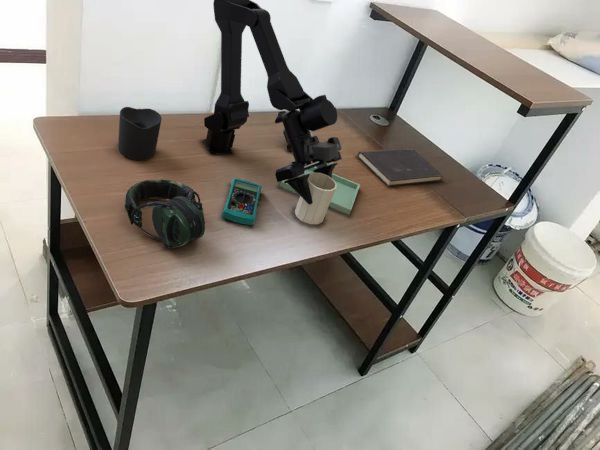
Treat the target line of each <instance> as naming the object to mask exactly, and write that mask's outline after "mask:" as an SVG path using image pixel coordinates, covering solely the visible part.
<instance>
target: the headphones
mask: <svg viewBox="0 0 600 450" xmlns="http://www.w3.org/2000/svg"><path fill="white" fill-rule="evenodd" d="M196 198H197V200H196ZM147 200H156V201H149V202H147V203H144V204H141V205H139V204H140V203H141V202H143V201H147ZM157 200H168V201H157ZM124 201H125V202H124V209H125V211H126V214H127V217H128V220H129V221H130V225H135V226H136V227H137V228H139V229H140V230H141V231H142V232H143V233H144V234H146V235H147V236H149V237H150V238H153V239H155V240H158V241H159V242H162V243H163V244H164V245H165V246H166V247H167V248H168V249H175V248H180V247H183V246H185V245H186V244H188V243H189V242H191V241H193V240H198V239H201V238H203V236H204V234H205V232H206V231H205V230H206V219H205V215H204V208H203V203H202V202H201V198H200V195H199V193H197V192H196V191H195V190H194V189H193V188H191V187H190V186H189V185H186V184H184V183H181V182H179V181H175V180H172V179H164V178H159V179H158V178H157V179H156V178H155V179H146V180H142V181H140V182H139V181H138V182H136V183H134V185H132V186H130V187H129V189H127V191H126V193H125V198H124ZM138 205H139V206H138ZM149 207H153V208H152V211H151V221H152V224H153V227H154V228H153V229H154V230H155V232H156V234H157V236H158V237H159V238H158V237H156V236H154V235H152V234H151V233H149V232H147V231H146V230H145V229H144V228H143V222H142V221H143V217H142V216H143V212H142V210H143V209H145V208H149Z"/></svg>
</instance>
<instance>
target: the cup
mask: <svg viewBox="0 0 600 450" xmlns="http://www.w3.org/2000/svg"><path fill="white" fill-rule="evenodd" d="M308 185H309V189H310V193H311V196H312V202H313V203H312V204H310V205H309V204H308V203H307V202H306V201H305V200H304V199H303V198H302V197H301V196H300V195H299V198H298V200H297V204H296V206H295V209H294V214H295V216H296V218H297V219H299V220H300V221H301V222H303V223H305V224H309V225H319V224H321V223H323V221H324V219H325V216H326V215H327V212H328V209H329V208H330V207H329V204H330V202H331V200H332V197H333V195H334V192H335V190H336V187H337V184H336V182H335V181H334V180H333V179H332V178H331V177H329V176H328V175H325V174H322V173H316V172H313V173H310V175H309V178H308Z"/></svg>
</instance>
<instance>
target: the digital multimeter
mask: <svg viewBox="0 0 600 450" xmlns="http://www.w3.org/2000/svg"><path fill="white" fill-rule="evenodd" d="M261 191H262V186H261V184H258V183H255V182H252V181H249V180H245V179H241V178H237V177H235V178H234V177H233V178H232V180H231V184H230V189H229V193H228V196H227V200H226V202H225V205H224V207H223V211H222V215H221V217H222V218H223V219H225V220H228V221H231V222H234V223H237V224H240V225H241V224H242V225H249V226H254V225H255V221H256V215H257V208H258V202H259V197H260V194H261Z"/></svg>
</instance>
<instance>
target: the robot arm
mask: <svg viewBox="0 0 600 450" xmlns="http://www.w3.org/2000/svg"><path fill="white" fill-rule="evenodd" d="M213 14H214V22H215V23H216V25H217V27H218V29H219V31H220V51H221V52H220V94H219V96H218V98H217V99H216V101H215V103H214V109H213V113H212V114H210V115H208V116H206V117H204V118H203V122H204V127H205V128H206V129H207V132H206V136H205V139H202V143H203V144H204V146H205V148H206V149H207V150H208V152H209V154H210V155H223V154H224V155H225V154H228V155H229V154H231V155H232V154H233V152H234V150H232V149H233V147H234V146H233V145H234V142H235V138H236V134H235V133H236V130H240V128H241V127H242V126H244V125H245V124H246V123H247V122H248V118H249V117H250V114H249V108H250V104H249V103H250V102H249V100H245V98H244V97H243V95H242V53H243V33H244V31H245V29H246V27H249V29H250V32H251V35H252V37H253V40H254V43H255V46H256V48H257V51H258V54H259V56H260V59H261V61H262V65H263V66H264V69H265V72H266V76H267V83H266V90H267V94H268V98H269V101H270V104H271V106H272V107H273V108H274V109H276V110H277V111H278V113H277V116H276V118H275V120H274V124H280V123H282V125H283V129H284V130H285V131H286V134H287V138H288V141H289V145H288V144H287V145H286V150H288V151H289V149H291V150H292V152H291V153H292V156H293V159H294V161H291V164H289V165H286V166H282V167H280V168H277V169H275V173H274V175H275V179H276V182H277V183H281V182H282V181H283V180H286V181H284V183H288V184H289V185H290V186H291V187H292V188H293V189H294V190H295V191H296V192H297V193H298V194H297V193H296V194H297V195H299V197H300V196H301V197H302V198H303V199H304V200H305V201H306V202H307V203H308V204H309V205H310V204H312V203H313V202H312V196H311V193H310V189H309V185H308V178H309V175H310V174H306V175H305V170H308V169H310V168H313V167H316V168H317V169H315V170H313V171H314V172H316V173H322V174H325V175H328V176H329V177H331V178H332V173H333V171H334V169H335V168H336V166H337V165H338V161H340V160H343V158H342V155H341V152H340V151H341V150H342V146H341V142H340V139H339V137H338V136H331V137H328V139H327V141H320V139H319V137H318V136H317V135H313V133H312V132H316V131H319V130H322V129H324V128H327V127H329V126H334V125H335V124H336V123H337V121H338V110H337V108H336V107H335V105H334V103H333V102H331V101H330V100H329V99H328V98H327V95H326V94H321V95H318V96H316V97H314V98H312V97H311V95H309V94H308V93H307V92H306V91H305V90H304V88H303V86H302V84H301V83H300V81H299V79H298V77H297V76H296V75H295V74H294V73H293V72H292V71H291V70H290V68H289V66H288V64H287V62H286V59H285V56H284V53H283V52H282V48H281V46H280V44H279V41H278V38H277V35H276V33H275V29H274V26H273V25H272V21H271V18H272V17H271V14H270V12H269V11H268V10H266V9H265V8H262V7H261V6H260V5H259V4H258V3H257V2H255V1H252V0H213ZM305 164H306V165H305ZM287 179H288V180H287Z"/></svg>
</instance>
